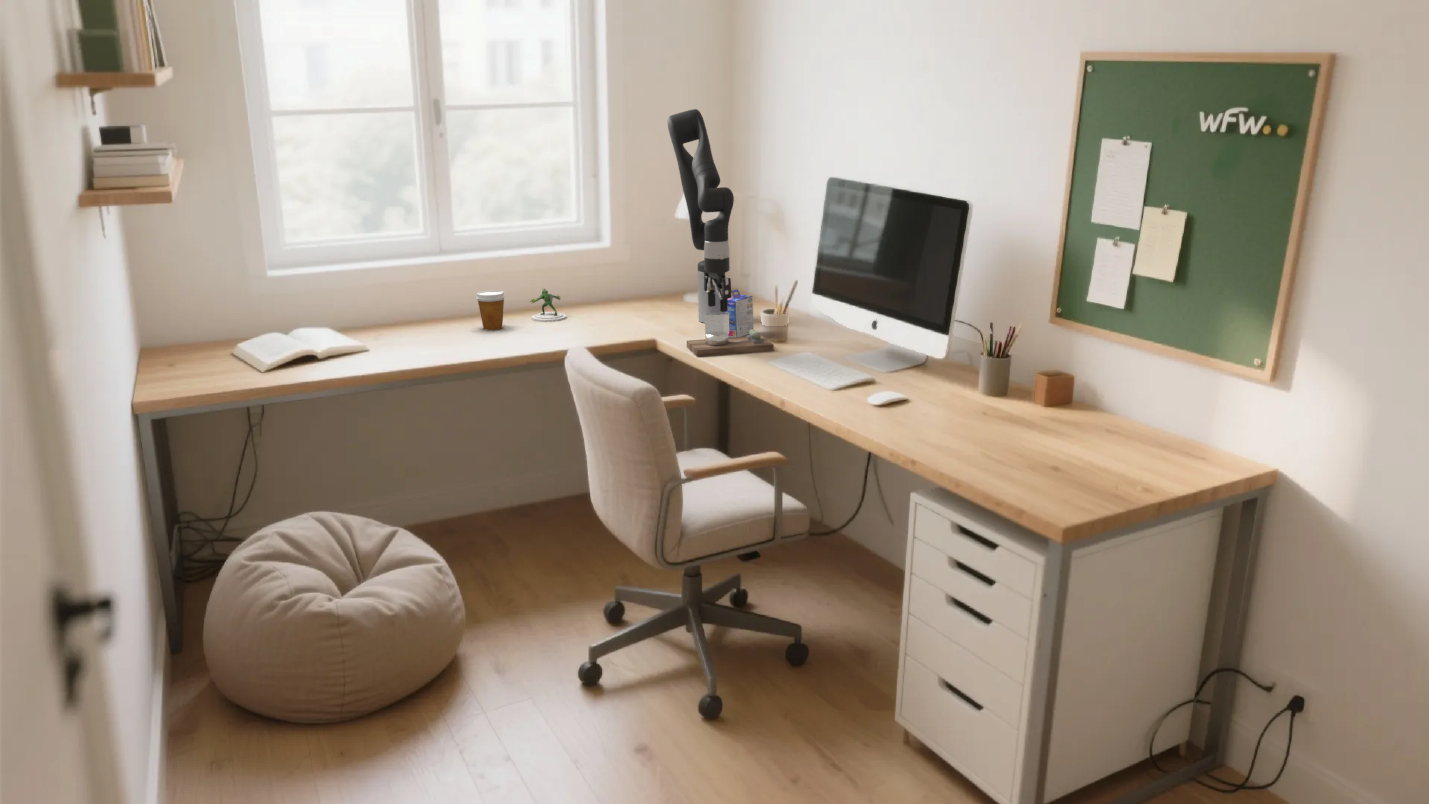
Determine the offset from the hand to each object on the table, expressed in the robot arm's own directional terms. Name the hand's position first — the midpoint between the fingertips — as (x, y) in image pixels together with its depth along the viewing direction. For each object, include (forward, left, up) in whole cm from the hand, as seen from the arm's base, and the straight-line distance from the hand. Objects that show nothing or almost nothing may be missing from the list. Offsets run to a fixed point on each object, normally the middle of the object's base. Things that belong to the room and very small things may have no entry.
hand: (717, 308), depth 336 cm
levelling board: (0, +4, -13) cm, 13 cm away
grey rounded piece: (0, 0, -11) cm, 11 cm away
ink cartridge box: (-18, +12, -13) cm, 25 cm away
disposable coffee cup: (-53, -64, -13) cm, 84 cm away
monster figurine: (-63, -44, -13) cm, 78 cm away
